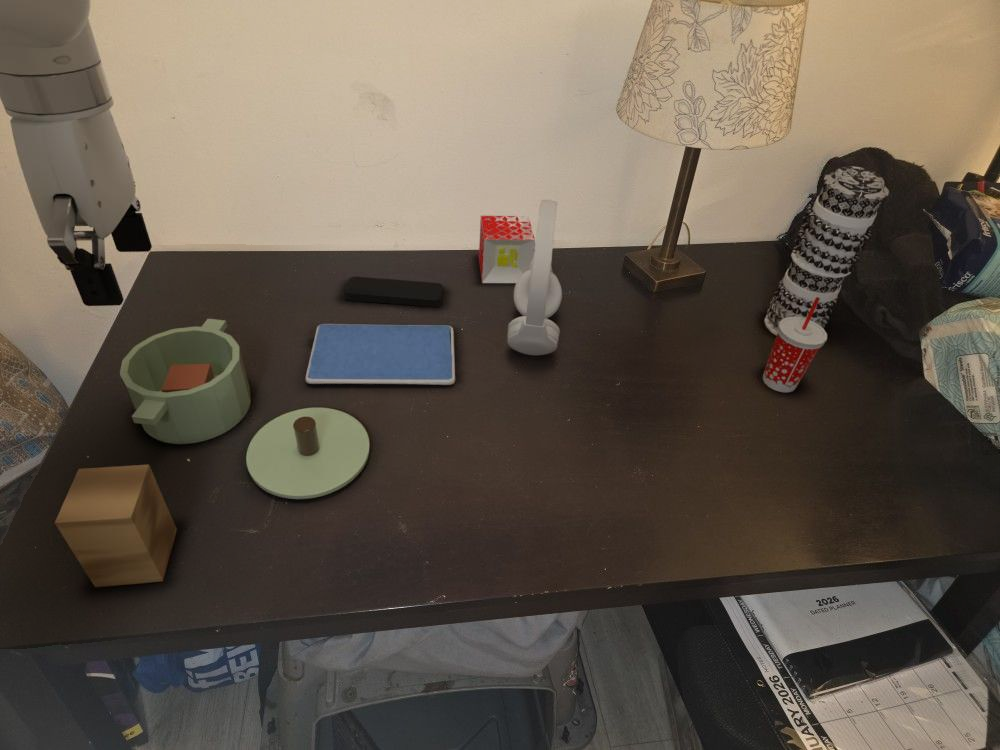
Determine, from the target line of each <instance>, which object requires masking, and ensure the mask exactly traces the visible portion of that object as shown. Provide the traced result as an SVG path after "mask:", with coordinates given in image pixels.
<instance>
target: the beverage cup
mask: <svg viewBox="0 0 1000 750" xmlns="http://www.w3.org/2000/svg"><path fill="white" fill-rule="evenodd" d="M819 300H820V298H818V297H816V299H815V301H814V303H813V305H812V307H811V310H810V312H809V314H808V316H807V318H806V319H805V318H801V317H787V318H784V319H782V320H781V321H780V322H779V326H778V329H777V332H778V334H777V336H776V335H775V336H776V337H775V340H774V342H773V345H772V348H771V351H770V354H769V356H768V359H767V362H766V366H765V368H764V371H763V373H762V381H763V383H764V384H765V385H766V386H767V387H768V388H770V389H772V390H774V391H775V392H776V391H777V392H780V393H792V392H794V391H795V390H796V388H798V385H799V384H800V382H801V380H802V378H803V377H804V376H805V374H806V372H807V370H808V368H809V367H810V365H811V364H812V362H813V360H814V358H815V357H816V355H817V353H818V352H819V350H820V348H822V347H823V346H824V345H825V343H826V342H827V340H828V333H827V332H826V330H825V329H824V328H822V327H821V326H820V325H818V324H817V323H815V322H813V321H811V320H810V319H811V317H812V315H813V312H814V310H815V308H816V306H817V304H818V302H819Z"/></svg>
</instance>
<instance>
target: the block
mask: <svg viewBox="0 0 1000 750" xmlns="http://www.w3.org/2000/svg"><path fill="white" fill-rule="evenodd" d="M213 379H214V374H213V371H212V367H211V364H187V365H171V367H170V369H169V372H168V375H167V377H166V380H165V382H164V385H163V388H162V392H166V393H167V392H175V391H182V390H189V389H192V388H195V387H197V386H200V385H203V384H205V383H208V382H210V381H211V380H213Z"/></svg>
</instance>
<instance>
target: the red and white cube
mask: <svg viewBox="0 0 1000 750" xmlns="http://www.w3.org/2000/svg"><path fill="white" fill-rule="evenodd" d="M535 243H536V237H535V234H534V231H533V227H532V223H531V220H530V216H527V215H525V216H524V215H480V224H479V243H478V244H479V246H478V262H479V263H478V264H479V270H480V278H481V283H482V284H516V283H517V281H518V280H519V278H520V277H521V276H522V274H523V273H524V272H526V271H527V269H528V267H529V265H530V263H531V260H532V259H533V255H534V250H535Z"/></svg>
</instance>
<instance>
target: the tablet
mask: <svg viewBox="0 0 1000 750" xmlns="http://www.w3.org/2000/svg"><path fill="white" fill-rule="evenodd" d="M455 361H456V360H455V331H454V328H453V327H452V326H451V325H445V324H444V325H436V324H435V325H434V324H432V325H431V324H359V323H358V324H350V323H349V324H348V323H321V324H319V325H317V326H316V331H315V335H314V340H313V343H312V348H311V352H310V356H309V361H308V365H307V369H306V374H305V382H306V383H307V384H311V385H320V384H321V385H324V384H325V385H326V384H327V385H331V384H332V385H335V384H337V385H342V384H344V385H345V384H347V385H349V384H352V385H353V384H356V385H357V384H359V385H360V384H361V385H362V384H363V385H375V384H376V385H379V384H380V385H432V386H433V385H434V386H435V385H436V386H437V385H438V386H451V385H454V384H455V382H456V362H455Z"/></svg>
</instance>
